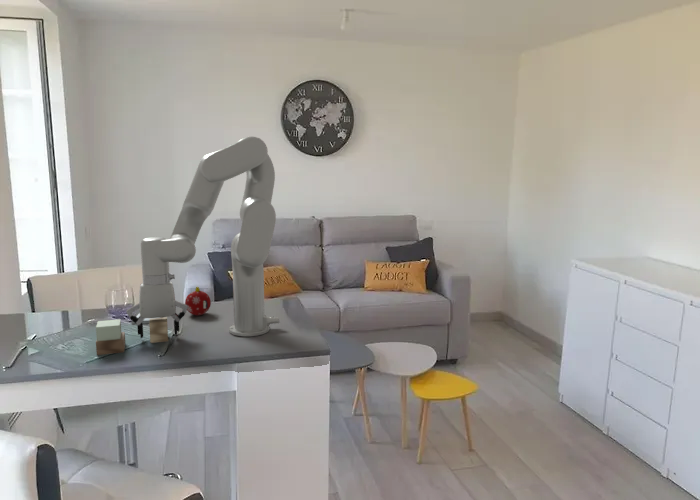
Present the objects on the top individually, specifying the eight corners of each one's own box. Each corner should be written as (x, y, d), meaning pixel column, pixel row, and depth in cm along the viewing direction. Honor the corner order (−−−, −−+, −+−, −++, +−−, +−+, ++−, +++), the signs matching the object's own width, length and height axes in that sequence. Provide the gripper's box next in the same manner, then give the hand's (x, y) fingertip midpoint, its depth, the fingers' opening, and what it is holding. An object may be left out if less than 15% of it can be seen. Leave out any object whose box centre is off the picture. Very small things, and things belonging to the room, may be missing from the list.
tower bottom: (125, 345, 159) (124, 331, 158) (124, 353, 153) (123, 339, 152) (99, 347, 157) (98, 334, 156) (96, 355, 150) (95, 342, 150)
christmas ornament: (202, 310, 195) (201, 282, 194) (215, 314, 189) (215, 286, 188) (180, 314, 189) (179, 286, 187) (193, 320, 183) (192, 291, 182)
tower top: (121, 332, 158) (120, 319, 157) (120, 338, 152) (119, 325, 152) (98, 334, 156) (97, 321, 155) (96, 341, 150) (95, 327, 150)
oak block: (167, 336, 167) (167, 317, 166) (168, 341, 162) (167, 321, 161) (150, 337, 165) (149, 318, 164) (150, 343, 160) (149, 323, 159)
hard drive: (157, 320, 179) (165, 309, 191) (131, 321, 178) (140, 310, 190) (157, 325, 179) (165, 314, 191) (131, 325, 178) (140, 315, 190)
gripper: (186, 274, 167) (188, 328, 170) (125, 278, 161) (128, 334, 164) (187, 280, 160) (189, 336, 163) (123, 284, 154) (127, 341, 157)
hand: (159, 335), depth 163 cm, fingers open, 9 cm apart
